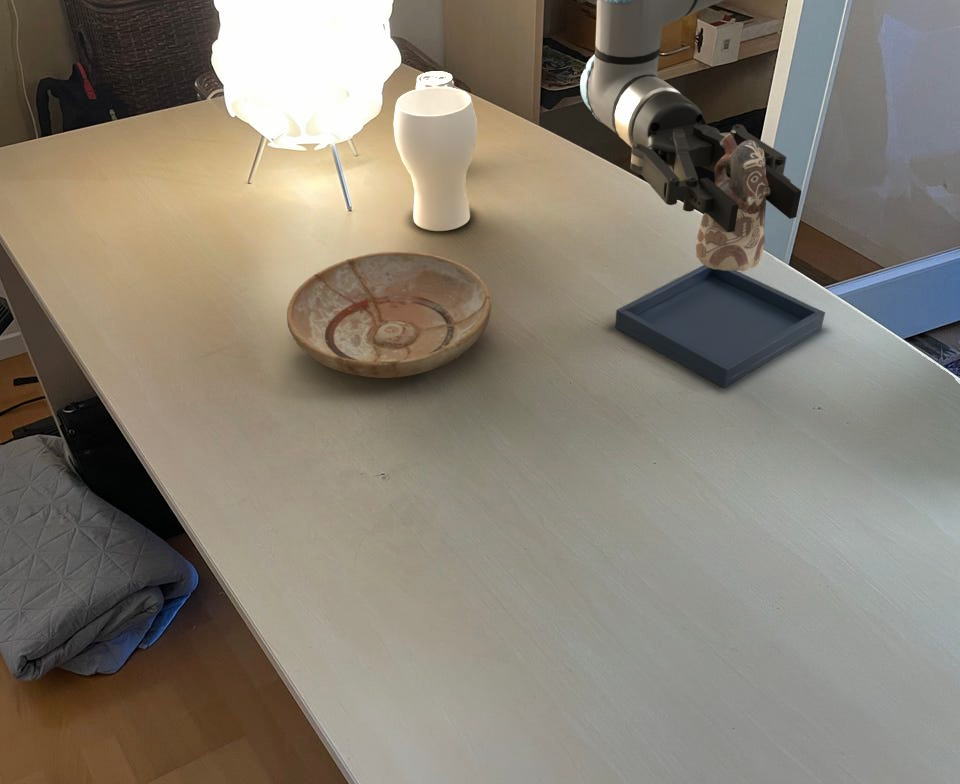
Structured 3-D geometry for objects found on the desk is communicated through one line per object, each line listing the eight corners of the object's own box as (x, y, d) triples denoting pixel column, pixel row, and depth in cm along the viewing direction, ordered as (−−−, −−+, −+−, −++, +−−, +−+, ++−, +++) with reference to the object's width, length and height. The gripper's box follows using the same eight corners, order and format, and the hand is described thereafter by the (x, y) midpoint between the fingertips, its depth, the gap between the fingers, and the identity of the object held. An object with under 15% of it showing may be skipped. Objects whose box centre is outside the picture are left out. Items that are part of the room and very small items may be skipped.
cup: (393, 233, 133) (380, 115, 122) (415, 197, 140) (405, 82, 129) (470, 239, 131) (464, 120, 120) (488, 203, 138) (484, 86, 127)
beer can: (460, 158, 148) (455, 70, 139) (457, 174, 144) (451, 85, 135) (424, 158, 148) (417, 71, 139) (420, 174, 145) (412, 85, 136)
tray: (821, 330, 114) (825, 312, 112) (723, 388, 107) (726, 369, 105) (711, 277, 122) (713, 259, 121) (614, 327, 116) (616, 309, 114)
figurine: (728, 278, 104) (747, 162, 95) (681, 253, 108) (694, 139, 99) (775, 256, 107) (798, 141, 98) (728, 232, 111) (745, 119, 102)
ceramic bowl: (259, 384, 111) (250, 344, 107) (340, 279, 126) (334, 241, 122) (455, 413, 106) (453, 373, 102) (515, 301, 120) (515, 262, 117)
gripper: (730, 144, 118) (839, 229, 104) (581, 174, 114) (673, 266, 100) (740, 75, 112) (857, 155, 98) (584, 104, 109) (682, 192, 94)
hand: (764, 211), depth 99 cm, fingers closed on figurine, 6 cm apart
